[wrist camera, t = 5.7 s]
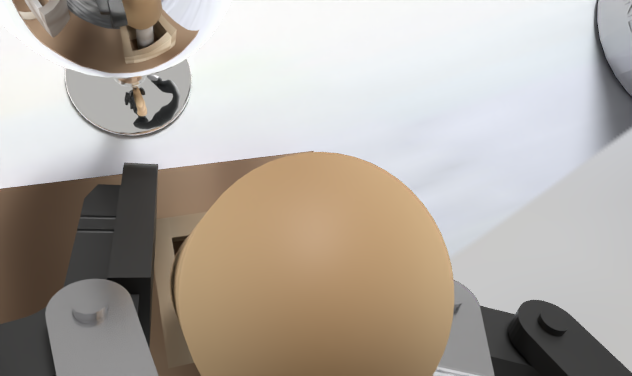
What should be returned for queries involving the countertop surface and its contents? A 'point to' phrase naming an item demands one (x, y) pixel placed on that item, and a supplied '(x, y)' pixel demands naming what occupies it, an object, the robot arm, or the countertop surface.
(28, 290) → the plank
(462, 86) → the countertop surface
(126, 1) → the wineglass
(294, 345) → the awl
